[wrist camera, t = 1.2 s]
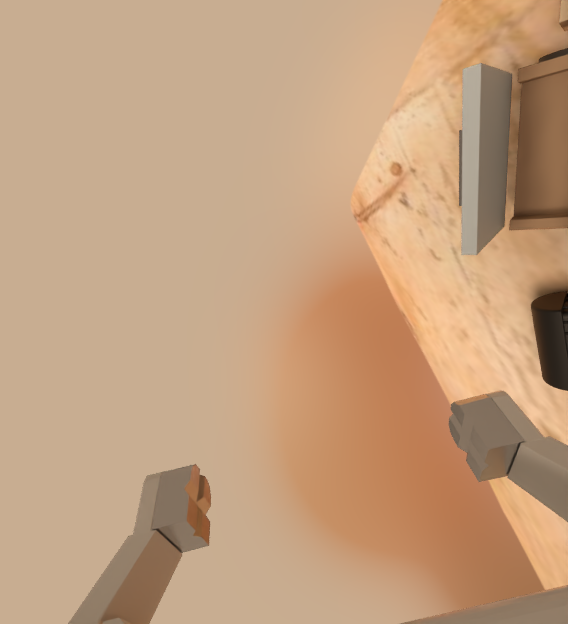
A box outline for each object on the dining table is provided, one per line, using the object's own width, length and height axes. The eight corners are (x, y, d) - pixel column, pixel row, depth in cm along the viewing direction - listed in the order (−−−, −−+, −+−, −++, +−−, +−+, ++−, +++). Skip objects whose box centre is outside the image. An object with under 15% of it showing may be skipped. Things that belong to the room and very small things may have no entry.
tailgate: (512, 73, 32) (481, 63, 24) (504, 226, 37) (476, 254, 29) (489, 80, 33) (454, 71, 26) (485, 226, 38) (454, 254, 31)
